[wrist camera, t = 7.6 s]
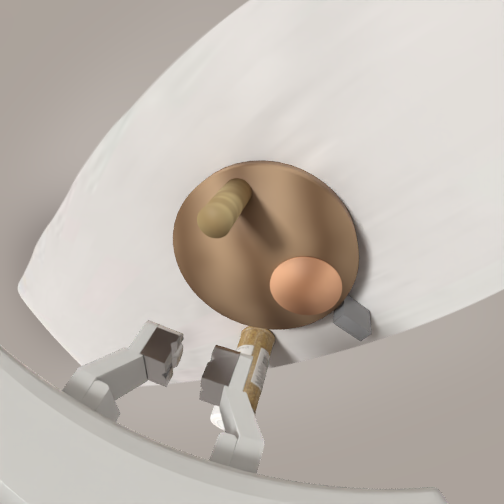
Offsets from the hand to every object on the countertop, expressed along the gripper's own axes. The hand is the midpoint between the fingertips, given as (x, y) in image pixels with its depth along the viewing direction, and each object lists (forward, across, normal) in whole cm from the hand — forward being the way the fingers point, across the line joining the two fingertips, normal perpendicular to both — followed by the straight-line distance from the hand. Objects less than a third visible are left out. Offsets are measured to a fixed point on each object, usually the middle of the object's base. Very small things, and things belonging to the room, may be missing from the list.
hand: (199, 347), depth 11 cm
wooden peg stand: (+19, 0, +6) cm, 20 cm away
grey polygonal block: (+19, -11, +11) cm, 25 cm away
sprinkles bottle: (+19, -2, +20) cm, 28 cm away
